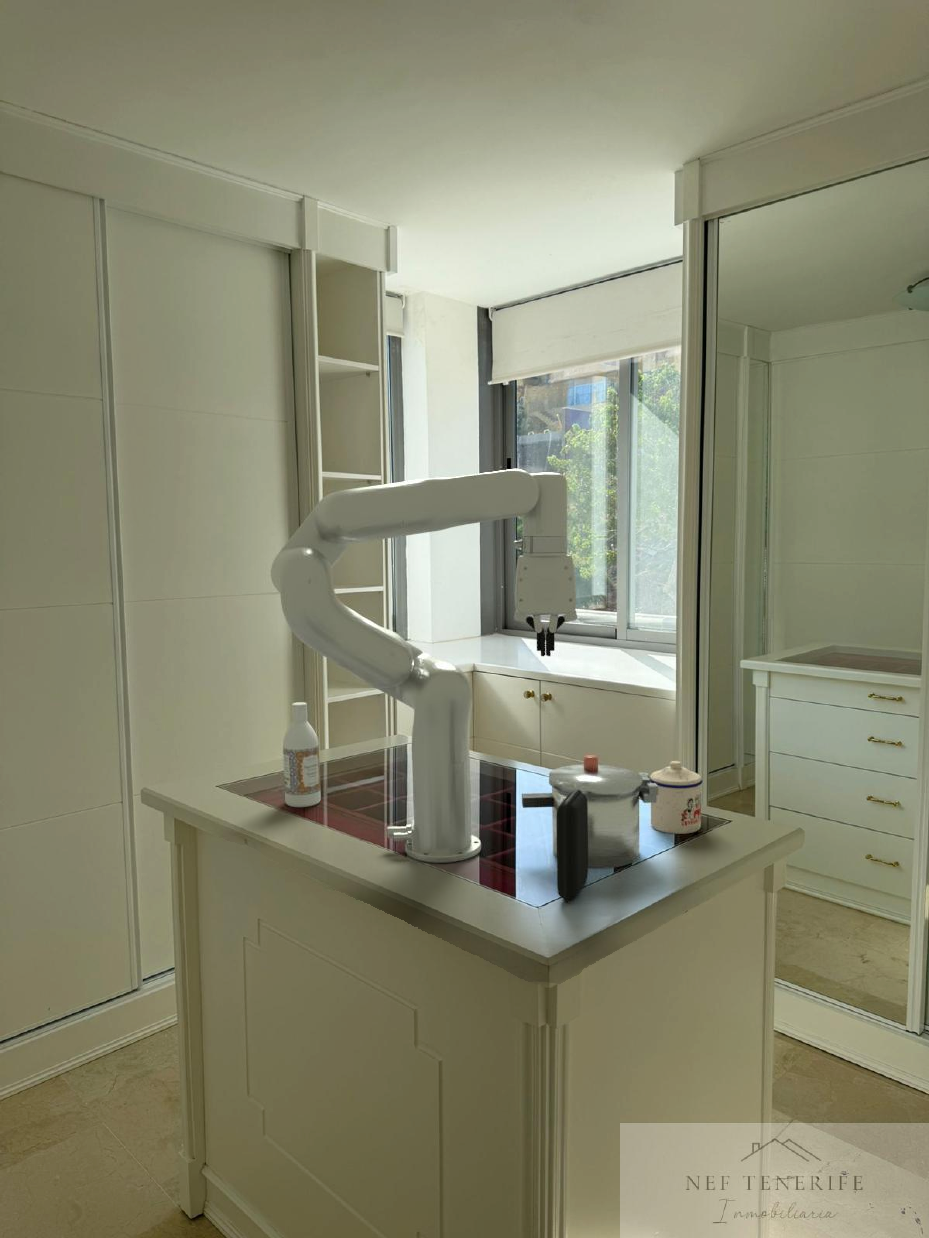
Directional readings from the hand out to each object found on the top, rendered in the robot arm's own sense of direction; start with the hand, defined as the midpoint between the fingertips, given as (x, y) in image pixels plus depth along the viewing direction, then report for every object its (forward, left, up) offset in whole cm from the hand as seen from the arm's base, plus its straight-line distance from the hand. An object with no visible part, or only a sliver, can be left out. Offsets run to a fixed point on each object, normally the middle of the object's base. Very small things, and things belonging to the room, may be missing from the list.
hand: (545, 655), depth 152 cm
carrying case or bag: (+1, -25, -32) cm, 41 cm away
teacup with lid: (+24, +4, -32) cm, 40 cm away
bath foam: (-46, +23, -32) cm, 61 cm away
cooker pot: (+6, -9, -32) cm, 33 cm away
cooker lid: (+7, -9, -20) cm, 23 cm away
